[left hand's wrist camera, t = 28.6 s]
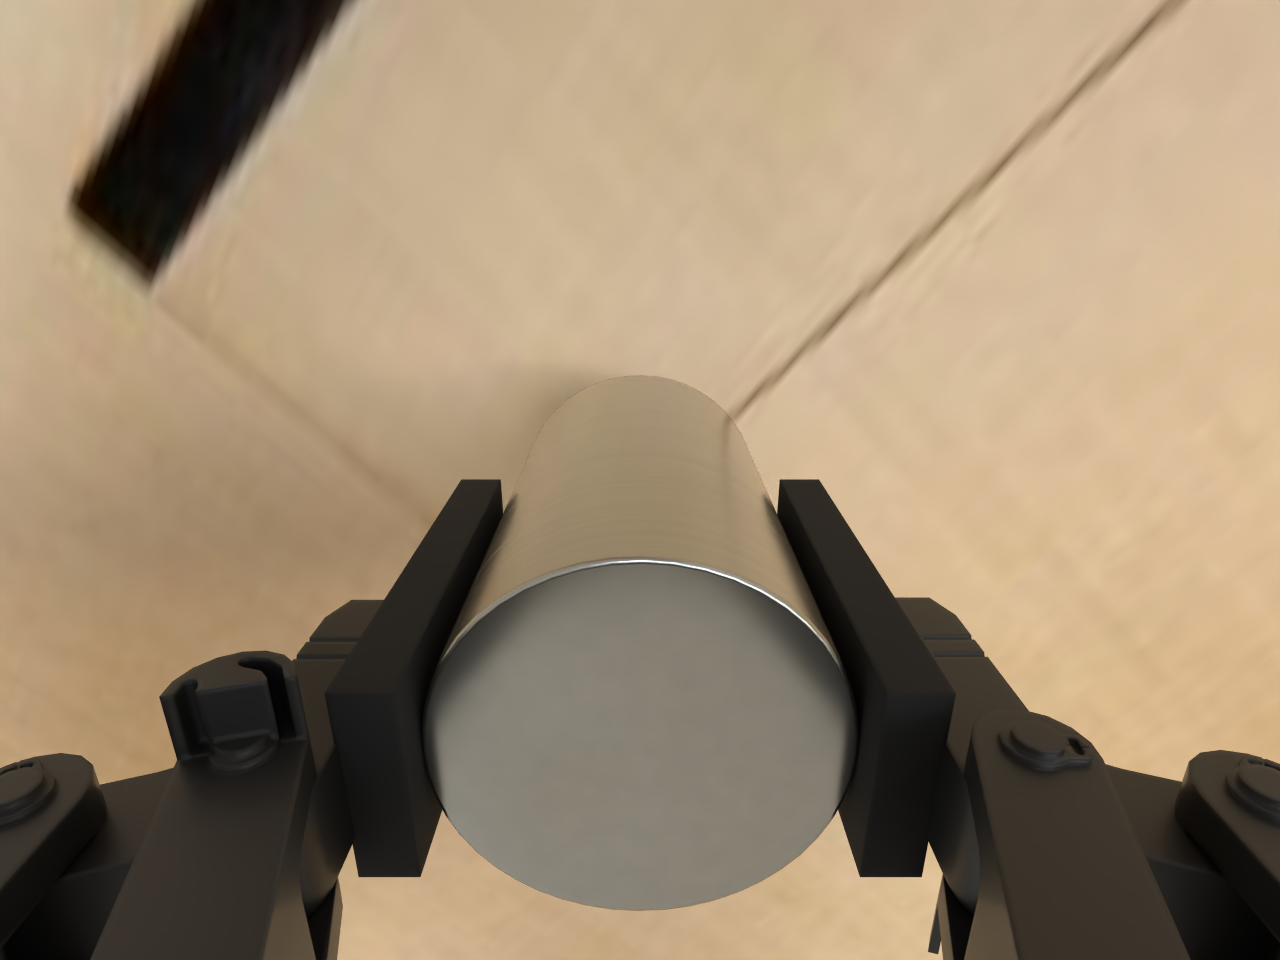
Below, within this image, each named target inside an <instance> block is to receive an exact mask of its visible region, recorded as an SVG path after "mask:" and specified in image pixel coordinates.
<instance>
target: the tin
mask: <svg viewBox="0 0 1280 960" xmlns="http://www.w3.org/2000/svg"><path fill="white" fill-rule="evenodd" d="M859 731H860V729H859V719H858V708H857V703H856V700H855V696H854V692H853V688H852V685H851V682H850V680H849V677H848V675H847V673H846V670H845V668H844V666H843V664H842V661H841V659H840V657H839V654H838V652H837V650H836V648H835V645H834V643H833V641H832V639H831V636H830V634H829V632H828V629H827V627H826V625H825V623H824V620H823V618H822V616H821V613H820V611H819V609H818V607H817V604H816V602H815V600H814V598H813V595H812V593H811V591H810V588H809V586H808V584H807V582H806V579H805V577H804V575H803V572H802V570H801V568H800V566H799V563H798V561H797V559H796V557H795V554H794V552H793V550H792V547H791V545H790V543H789V541H788V538H787V536H786V534H785V531H784V529H783V527H782V525H781V522H780V520H779V518H778V516H777V513H776V511H775V509H774V506H773V504H772V502H771V500H770V497H769V495H768V493H767V490H766V488H765V486H764V484H763V481H762V479H761V477H760V475H759V472H758V470H757V468H756V465H755V463H754V461H753V459H752V456H751V454H750V452H749V449H748V447H747V445H746V443H745V441H744V438H743V436H742V434H741V432H740V431H739V429H738V427H737V426H736V424H735V423H734V421H733V420H732V419H731V418H730V417H729V415H728V414H727V413H726V412H725V411H724V410H723V409H722V408H721V407H720V406H719V405H718V404H717V403H716V402H714V401H713V400H712V399H711V398H709V397H708V396H706V395H705V394H703V393H702V392H700V391H698V390H696V389H694V388H692V387H690V386H688V385H686V384H683V383H680V382H677V381H674V380H671V379H666V378H661V377H656V376H642V375H640V376H624V377H619V378H614V379H609V380H606V381H603V382H600V383H597V384H594V385H592V386H590V387H588V388H586V389H584V390H582V391H580V392H579V393H577V394H575V395H574V396H572V397H571V398H569V399H568V400H567V401H566V402H565V403H563V404H562V405H561V406H560V407H559V408H558V409H557V410H556V411H555V412H554V413H553V414H552V415H551V417H550V418H549V419H548V420H547V422H546V423H545V425H544V426H543V428H542V429H541V431H540V432H539V434H538V436H537V438H536V441H535V443H534V445H533V447H532V449H531V452H530V454H529V456H528V458H527V461H526V463H525V465H524V468H523V470H522V472H521V474H520V477H519V479H518V481H517V484H516V486H515V488H514V491H513V493H512V495H511V497H510V500H509V502H508V504H507V507H506V509H505V511H504V513H503V516H502V518H501V520H500V523H499V525H498V527H497V529H496V532H495V534H494V536H493V539H492V541H491V543H490V545H489V548H488V550H487V552H486V555H485V557H484V559H483V561H482V564H481V566H480V568H479V571H478V573H477V575H476V577H475V580H474V582H473V584H472V587H471V589H470V591H469V593H468V596H467V598H466V600H465V603H464V605H463V607H462V609H461V612H460V614H459V616H458V619H457V621H456V623H455V625H454V628H453V630H452V632H451V635H450V637H449V639H448V642H447V644H446V646H445V648H444V651H443V653H442V655H441V658H440V660H439V662H438V664H437V667H436V669H435V671H434V674H433V676H432V678H431V681H430V684H429V688H428V691H427V694H426V698H425V701H424V707H423V715H422V723H421V736H422V752H423V757H424V761H425V766H426V771H427V775H428V778H429V781H430V784H431V786H432V789H433V792H434V794H435V797H436V798H437V800H438V802H439V804H440V806H441V808H442V809H443V811H444V813H445V815H446V816H447V818H448V819H449V820H450V822H451V823H452V825H453V826H454V827H455V829H456V830H457V831H458V833H459V834H460V835H461V836H462V837H463V838H464V839H465V840H466V841H467V842H468V843H469V844H470V845H471V846H472V847H473V848H474V849H475V850H476V852H478V853H479V854H480V855H481V856H483V857H484V858H485V859H486V860H488V861H489V862H490V863H491V864H493V865H494V866H495V867H497V868H498V869H500V870H501V871H503V872H505V873H506V874H508V875H509V876H511V877H513V878H514V879H516V880H518V881H520V882H522V883H524V884H526V885H528V886H530V887H532V888H534V889H536V890H538V891H541V892H544V893H546V894H549V895H552V896H555V897H558V898H560V899H563V900H567V901H571V902H575V903H579V904H583V905H587V906H594V907H600V908H607V909H615V910H633V911H645V910H666V909H673V908H680V907H688V906H693V905H697V904H701V903H705V902H710V901H714V900H717V899H720V898H723V897H726V896H728V895H731V894H734V893H737V892H740V891H742V890H744V889H746V888H748V887H750V886H753V885H755V884H757V883H759V882H761V881H763V880H764V879H766V878H768V877H769V876H771V875H773V874H774V873H776V872H778V871H779V870H781V869H782V868H784V867H785V866H786V865H788V864H789V863H790V862H791V861H793V860H794V859H795V858H797V857H798V856H799V855H801V854H802V853H803V852H804V851H805V850H806V849H807V848H808V847H809V846H810V845H811V844H812V843H813V842H814V841H815V840H816V839H817V838H818V837H819V835H820V834H821V833H822V832H823V830H824V829H825V828H826V827H827V825H828V824H829V823H830V821H831V820H832V819H833V817H834V815H835V814H836V812H837V810H838V808H839V807H840V805H841V803H842V802H843V800H844V798H845V795H846V793H847V790H848V788H849V785H850V783H851V780H852V777H853V773H854V769H855V764H856V760H857V756H858V745H859Z"/></svg>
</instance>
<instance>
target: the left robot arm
mask: <svg viewBox="0 0 1280 960" xmlns="http://www.w3.org/2000/svg"><path fill="white" fill-rule="evenodd" d="M502 516H503V506H502V492H501V480H461V481H460V483H459V484H458V486H457V487H456V489H455V491H454V492H453V494H452V495H451V497H450V498H449V500H448V501H447V503H446V505H445V506H444V508H443V509H442V511H441V512H440V514H439V516H438V517H437V519H436V520H435V522H434V523H433V525H432V526H431V528H430V530H429V531H428V533H427V534H426V536H425V537H424V539H423V540H422V542H421V544H420V545H419V547H418V548H417V550H416V551H415V553H414V554H413V556H412V558H411V559H410V561H409V562H408V564H407V565H406V567H405V568H404V570H403V572H402V573H401V575H400V576H399V578H398V579H397V581H396V582H395V584H394V586H393V587H392V589H391V590H390V592H389V593H388V595H387V597H386V598H385V600H351V601H349V602H348V603H346V604H345V605H343V606H342V607H340V608H339V609H337V610H336V611H334V612H333V613H331V614H330V615H328V616H327V617H325V618H324V620H323V621H322V622H321V624H320V625H319V626H318V628H317V629H316V630H315V632H314V633H313V634H312V636H311V637H310V641H309V642H306V644H305V645H304V646H303V647H302V649H301V650H300V651H299V653H298V654H297V659H293V661H291V660H290V659H289V658H287V657H286V656H285V655H283V654H278V653H274V652H269V651H250V652H240V653H236V654H231V655H227V656H223V657H219V658H216V659H213V660H211V661H209V662H206V663H204V664H201V665H199V666H197V667H194V668H192V669H191V670H189V671H188V672H186V673H185V674H183V675H182V676H180V677H179V678H177V679H176V680H174V681H173V682H172V683H171V684H170V685H169V686H168V687H167V689H166V690H165V691H164V692H163V693H162V694H161V696H160V701H161V704H162V708H163V711H164V715H165V718H166V722H167V725H168V729H169V732H170V736H171V739H172V743H173V746H174V750H175V753H176V757H177V762H176V764H175V766H174V768H171V769H168V770H164V771H161V772H157V773H152V774H148V775H143V776H138V777H134V778H129V779H125V780H120V781H115V782H111V783H106V784H102V785H99V782H98V779H97V776H96V773H95V770H94V767H93V765H92V764H91V763H90V762H89V761H87V760H86V759H85V758H83V757H82V756H79V755H71V754H64V753H59V754H51V755H44V756H37V757H32V758H29V759H25V760H22V761H20V762H17V763H16V762H15V763H12V764H10V765H7V766H4V767H2V768H0V960H337V954H338V945H339V936H340V927H341V918H342V909H343V905H342V898H341V890H340V885H339V880H338V875H339V873H340V870H341V868H342V866H343V864H344V861H345V859H346V857H347V855H348V853H349V850H350V848H351V846H352V844H353V849H354V854H355V859H356V865H357V870H358V875H359V877H421V874H422V870H423V867H424V864H425V861H426V858H427V855H428V852H429V849H430V846H431V843H432V840H433V837H434V834H435V830H436V827H437V824H438V821H439V818H440V815H441V812H442V808H441V806H440V804H439V802H438V800H437V798H436V797H435V794H434V792H433V789H432V786H431V784H430V781H429V778H428V775H427V771H426V766H425V761H424V757H423V752H422V736H421V723H422V715H423V707H424V701H425V698H426V694H427V691H428V688H429V684H430V681H431V678H432V676H433V674H434V671H435V669H436V667H437V664H438V662H439V660H440V658H441V655H442V653H443V651H444V648H445V646H446V644H447V642H448V639H449V637H450V635H451V632H452V630H453V628H454V625H455V623H456V621H457V619H458V616H459V614H460V612H461V609H462V607H463V605H464V603H465V600H466V598H467V596H468V593H469V591H470V589H471V587H472V584H473V582H474V580H475V577H476V575H477V573H478V571H479V568H480V566H481V564H482V561H483V559H484V557H485V555H486V552H487V550H488V548H489V545H490V543H491V541H492V539H493V536H494V534H495V532H496V529H497V527H498V525H499V523H500V520H501V518H502ZM777 516H778V518H779V520H780V522H781V525H782V527H783V529H784V531H785V534H786V536H787V538H788V541H789V543H790V545H791V547H792V550H793V552H794V554H795V557H796V559H797V561H798V563H799V566H800V568H801V570H802V572H803V575H804V577H805V579H806V582H807V584H808V586H809V588H810V591H811V593H812V595H813V598H814V600H815V602H816V604H817V607H818V609H819V611H820V613H821V616H822V618H823V620H824V623H825V625H826V627H827V629H828V632H829V634H830V636H831V639H832V641H833V643H834V645H835V648H836V650H837V652H838V654H839V657H840V659H841V661H842V664H843V666H844V668H845V670H846V673H847V675H848V677H849V680H850V682H851V685H852V688H853V692H854V696H855V700H856V703H857V708H858V719H859V729H860V731H859V745H858V756H857V760H856V764H855V769H854V773H853V777H852V780H851V783H850V785H849V788H848V790H847V793H846V795H845V798H844V800H843V802H842V803H841V805H840V807H839V808H838V811H839V814H840V817H841V820H842V823H843V826H844V829H845V832H846V835H847V838H848V841H849V844H850V848H851V851H852V854H853V857H854V860H855V863H856V866H857V869H858V872H859V875H860V877H922V873H923V867H924V862H925V857H926V851H927V846H928V841H929V843H930V846H931V848H932V850H933V852H934V854H935V857H936V859H937V861H938V863H939V866H940V868H941V870H942V872H943V875H942V880H941V885H940V890H939V895H938V900H937V905H936V910H935V915H934V920H933V925H932V930H931V935H930V942H929V949H928V952H931V953H935V954H938V952H939V947H940V942H941V943H942V952H943V960H1280V764H1278V763H1275V762H1273V761H1270V760H1267V759H1262V758H1261V757H1257V756H1253V755H1250V754H1245V753H1238V752H1231V751H1224V750H1217V751H1210V752H1202V753H1199V754H1198V755H1197V756H1196V757H1194V758H1193V759H1192V760H1191V761H1189V763H1188V766H1187V769H1186V772H1185V775H1184V778H1183V781H1182V782H1180V781H1175V780H1170V779H1166V778H1161V777H1157V776H1152V775H1147V774H1143V773H1138V772H1134V771H1129V770H1124V769H1120V768H1117V767H1113V766H1110V765H1106V764H1105V763H1104V760H1103V759H1102V757H1101V756H1100V754H1099V753H1098V752H1097V750H1096V749H1095V747H1094V746H1093V745H1092V743H1091V742H1090V741H1088V740H1087V739H1086V738H1084V737H1083V736H1082V735H1080V734H1079V733H1078V732H1077V731H1075V730H1074V729H1073V728H1071V727H1069V726H1067V725H1065V724H1063V723H1061V722H1059V721H1056V720H1054V719H1052V718H1050V717H1048V716H1044V715H1041V714H1037V713H1033V712H1029V711H1028V709H1027V708H1026V707H1025V705H1024V704H1023V703H1022V701H1021V700H1020V699H1019V697H1018V696H1017V695H1016V694H1015V692H1014V691H1013V690H1012V688H1011V687H1010V686H1009V684H1008V683H1007V682H1006V680H1005V679H1004V678H1003V676H1002V675H1001V674H1000V673H999V671H998V670H997V669H996V667H995V666H994V665H993V663H992V662H991V661H990V659H989V658H988V657H985V656H984V652H983V650H982V649H981V648H980V646H979V645H978V644H977V642H976V641H975V640H972V639H971V635H970V633H969V632H968V631H967V629H966V628H965V627H964V625H963V624H962V623H961V621H960V620H959V619H958V617H957V616H956V615H955V614H953V613H952V612H950V611H949V610H947V609H946V608H944V607H943V606H941V605H940V604H938V603H937V602H935V601H933V600H932V599H930V598H895V597H894V596H893V594H892V593H891V591H890V590H889V588H888V586H887V585H886V583H885V582H884V580H883V579H882V577H881V576H880V574H879V572H878V571H877V569H876V568H875V566H874V565H873V563H872V562H871V560H870V558H869V557H868V555H867V554H866V552H865V551H864V549H863V548H862V546H861V544H860V543H859V541H858V540H857V538H856V537H855V535H854V533H853V532H852V530H851V529H850V527H849V526H848V524H847V523H846V521H845V519H844V518H843V516H842V515H841V513H840V512H839V510H838V509H837V507H836V505H835V504H834V502H833V501H832V499H831V498H830V496H829V495H828V493H827V491H826V490H825V488H824V487H823V485H822V484H821V482H820V481H819V480H780V484H779V498H778V511H777Z"/></svg>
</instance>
